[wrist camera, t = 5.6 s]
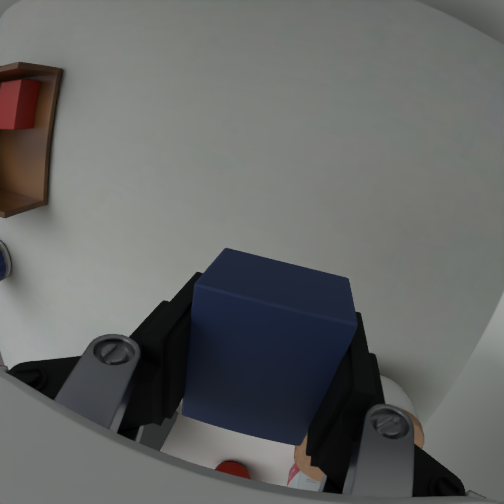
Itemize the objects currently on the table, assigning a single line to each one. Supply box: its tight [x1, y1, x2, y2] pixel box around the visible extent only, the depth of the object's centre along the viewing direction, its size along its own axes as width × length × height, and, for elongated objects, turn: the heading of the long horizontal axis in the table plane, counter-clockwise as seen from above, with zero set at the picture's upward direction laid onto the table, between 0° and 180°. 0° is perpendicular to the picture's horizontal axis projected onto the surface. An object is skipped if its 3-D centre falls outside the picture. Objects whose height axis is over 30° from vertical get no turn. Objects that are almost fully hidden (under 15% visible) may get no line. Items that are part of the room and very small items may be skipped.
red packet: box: [0, 79, 41, 130], centre depth 23 cm, size 5×4×3 cm
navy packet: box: [182, 248, 358, 446], centre depth 9 cm, size 5×4×3 cm
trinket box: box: [294, 375, 424, 482], centre depth 23 cm, size 11×11×9 cm
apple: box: [215, 462, 251, 479], centre depth 31 cm, size 6×6×8 cm
